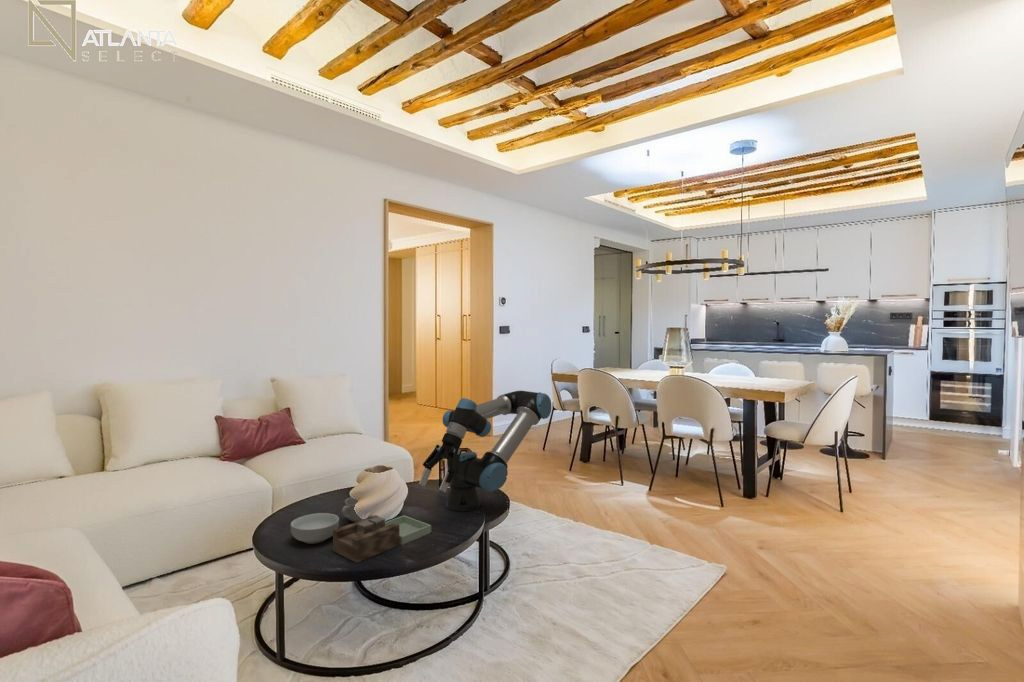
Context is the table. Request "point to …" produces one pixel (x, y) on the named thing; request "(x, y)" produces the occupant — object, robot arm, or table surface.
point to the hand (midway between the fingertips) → (431, 488)
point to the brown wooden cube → (364, 527)
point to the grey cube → (378, 522)
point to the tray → (410, 528)
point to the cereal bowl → (314, 527)
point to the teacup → (350, 510)
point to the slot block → (364, 541)
